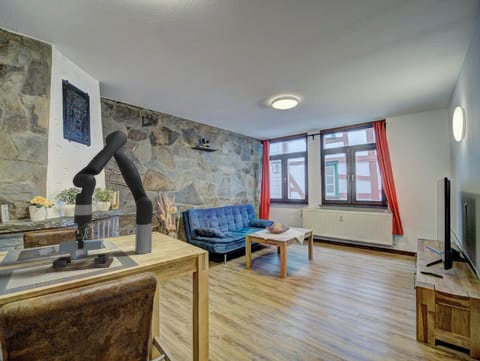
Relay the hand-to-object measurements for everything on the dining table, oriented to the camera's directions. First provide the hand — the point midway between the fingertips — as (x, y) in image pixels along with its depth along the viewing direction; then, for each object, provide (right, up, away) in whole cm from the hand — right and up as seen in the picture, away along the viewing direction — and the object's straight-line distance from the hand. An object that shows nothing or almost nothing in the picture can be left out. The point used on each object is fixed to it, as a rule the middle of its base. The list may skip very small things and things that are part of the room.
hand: (82, 247), depth 115 cm
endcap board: (0, -9, 0) cm, 9 cm away
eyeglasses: (-29, -10, +20) cm, 37 cm away
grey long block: (0, -1, 0) cm, 1 cm away
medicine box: (-12, -10, +14) cm, 21 cm away
